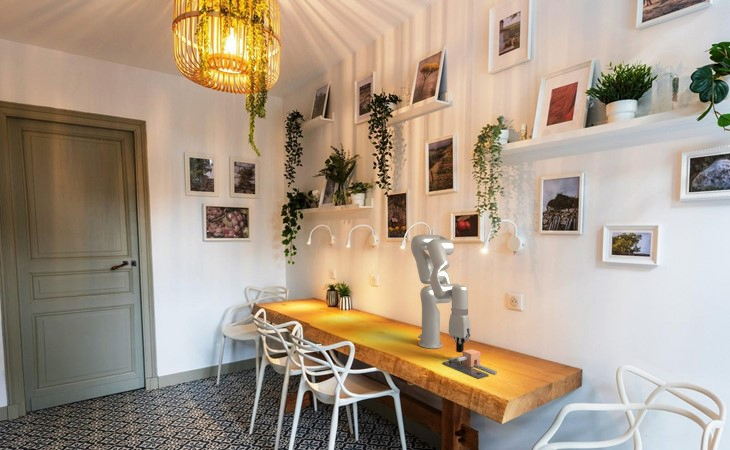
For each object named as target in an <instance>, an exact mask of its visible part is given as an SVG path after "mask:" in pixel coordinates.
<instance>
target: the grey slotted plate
mask: <svg viewBox="0 0 730 450" xmlns="http://www.w3.org/2000/svg"><path fill="white" fill-rule="evenodd" d="M459 357H463V355H460V356H455V357H451V358H449V359H448V361H450V362H453V361H456V362H458V361H457V358H459ZM461 362H462V363H463V360H462V361H461ZM473 368H475V369H476V368H477V369H478V370H482V371H483V372H484V371H485V372H487V373H488V374H489V373H490V374H492V375H498V371H497V370H494V369H492V368H489V367H488V366H487V367H486V366H484V365H481V364H480V365H479V364H476V363H474V367H473Z"/></svg>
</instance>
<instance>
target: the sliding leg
mask: <svg viewBox="0 0 730 450" xmlns="http://www.w3.org/2000/svg"><path fill="white" fill-rule="evenodd" d="M462 356H463V357H460V356H458V357H459V358H457V361H456V362H458V365H461V364H464V365H466V366H469V367H471V368H475V367H474V363H476V364H479V365H481V351H478V350H476V349H473V348H470V349H466V350H464V351H463V352H462ZM462 360H463V362H462V363H461V361H462Z"/></svg>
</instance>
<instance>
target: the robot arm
mask: <svg viewBox="0 0 730 450" xmlns="http://www.w3.org/2000/svg"><path fill="white" fill-rule="evenodd" d="M410 249H411V253H412V255H413V257H414V261H415V262H416V268H417V273H418V277H419V280H420V282H421V284H423V285H426V286H423V287H422V288H421V289H420V293H419V295H420V301H421V333H420V334H419V335H418V336H417V339H420V341H418V345H419V347H422V348H423V349H424V348H425V349H432V350H433V349H440V348H442V347H443V343H442V342H441V341H440V340H441V338H440V336H441V335H440V334H441V333H440V332H441V331H440V330H441V327H440V325H441V311H440V309H439V307H438V306H437V305H438V304H448V303H451V308H450V311H451V313H450V316H449V320H448V334H449V335H450V337H451V338H453V340H454V343H455V346H456V347H455V351H456V353H463V351H465V350H464V348H465V343H466V342H469V341H470V337H471V322H470V321H471V320H470V316H469V289H468V287H467V286H466V285H461V284H458V283H451V281H450V277H449V274H448V271H447V269H448V268H450V265H451V263H450V261H449V257H448V256H452V255H453V254H454V252H455V245H454V243H453V242H452V240H451V239H449V238H447V237H445V236H442V235H439V234H417V235H415V236H413V237H412V239H411V241H410ZM426 251H427V252H428V253H427V252H426Z"/></svg>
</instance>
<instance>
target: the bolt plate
mask: <svg viewBox="0 0 730 450" xmlns="http://www.w3.org/2000/svg"><path fill="white" fill-rule="evenodd" d="M442 365H444V366H446V367H449V368H451V369H454V370H456V371H458V372H461V373H462V374H463V373H464V374H465V375H468V376H471V377H473V378H475V379H478V380H479V379H483V378H488V377H489V373H488V372H487V373H486V372H484V371H481V370H480V369H476V368H475V367H469V366H466V365H464V364H462V363H461V365H458V361H453V362H450V361H449V360H445V361H442Z"/></svg>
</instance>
